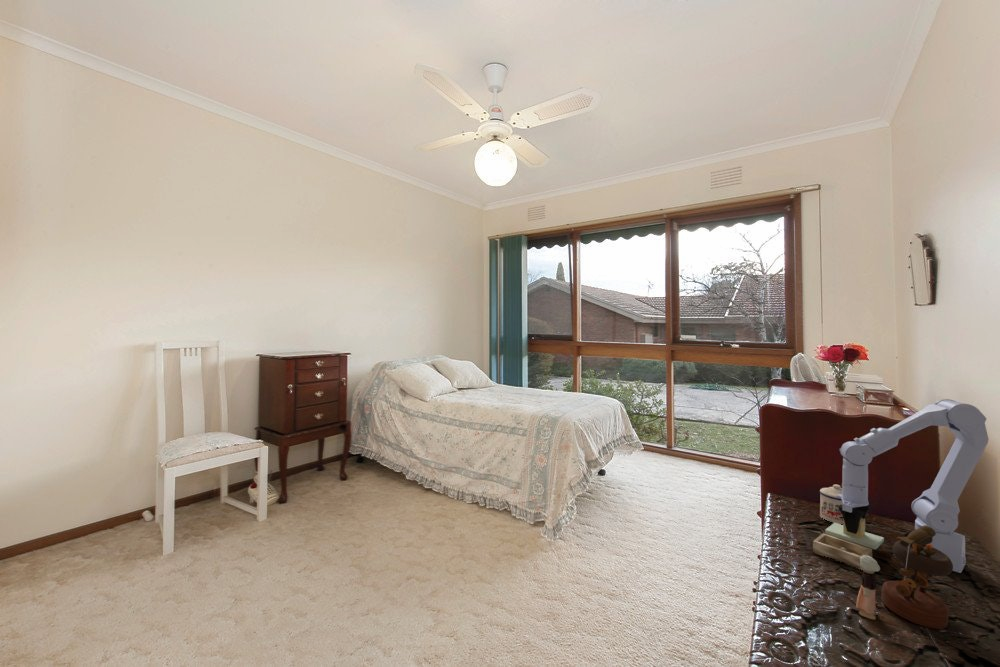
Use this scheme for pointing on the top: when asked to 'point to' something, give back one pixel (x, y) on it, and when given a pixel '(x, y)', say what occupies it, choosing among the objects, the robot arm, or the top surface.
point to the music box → (918, 580)
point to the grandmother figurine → (867, 587)
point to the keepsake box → (840, 550)
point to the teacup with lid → (831, 504)
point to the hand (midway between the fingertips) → (854, 530)
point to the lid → (855, 535)
